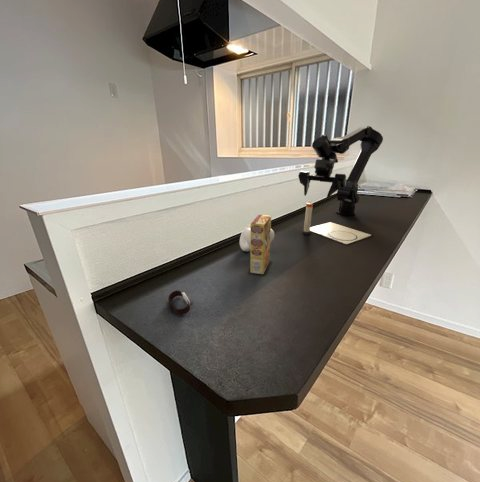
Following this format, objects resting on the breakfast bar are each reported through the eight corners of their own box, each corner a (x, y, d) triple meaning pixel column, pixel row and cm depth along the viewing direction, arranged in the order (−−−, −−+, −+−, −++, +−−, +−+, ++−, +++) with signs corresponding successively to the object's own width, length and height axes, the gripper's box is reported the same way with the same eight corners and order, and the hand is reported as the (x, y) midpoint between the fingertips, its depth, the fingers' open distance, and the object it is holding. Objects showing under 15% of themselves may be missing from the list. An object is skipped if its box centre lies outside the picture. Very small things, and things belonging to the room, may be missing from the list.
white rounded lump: (230, 251, 91) (229, 226, 87) (252, 241, 99) (253, 218, 95) (255, 261, 84) (256, 234, 80) (277, 249, 92) (279, 225, 88)
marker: (301, 233, 106) (305, 203, 101) (306, 232, 108) (309, 202, 102) (306, 235, 104) (310, 204, 99) (310, 234, 106) (314, 203, 100)
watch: (195, 312, 60) (194, 299, 59) (176, 319, 58) (174, 305, 57) (183, 296, 66) (181, 283, 65) (164, 302, 64) (162, 289, 62)
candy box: (263, 275, 76) (265, 224, 69) (249, 273, 77) (250, 223, 70) (269, 262, 83) (272, 215, 77) (256, 260, 84) (258, 214, 78)
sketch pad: (305, 229, 111) (305, 228, 111) (330, 222, 119) (330, 221, 119) (346, 244, 96) (346, 243, 96) (371, 235, 104) (371, 234, 104)
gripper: (302, 150, 107) (290, 182, 104) (350, 152, 99) (338, 186, 95) (306, 168, 117) (295, 198, 113) (350, 171, 108) (340, 203, 104)
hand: (315, 196), depth 106 cm, fingers open, 9 cm apart
